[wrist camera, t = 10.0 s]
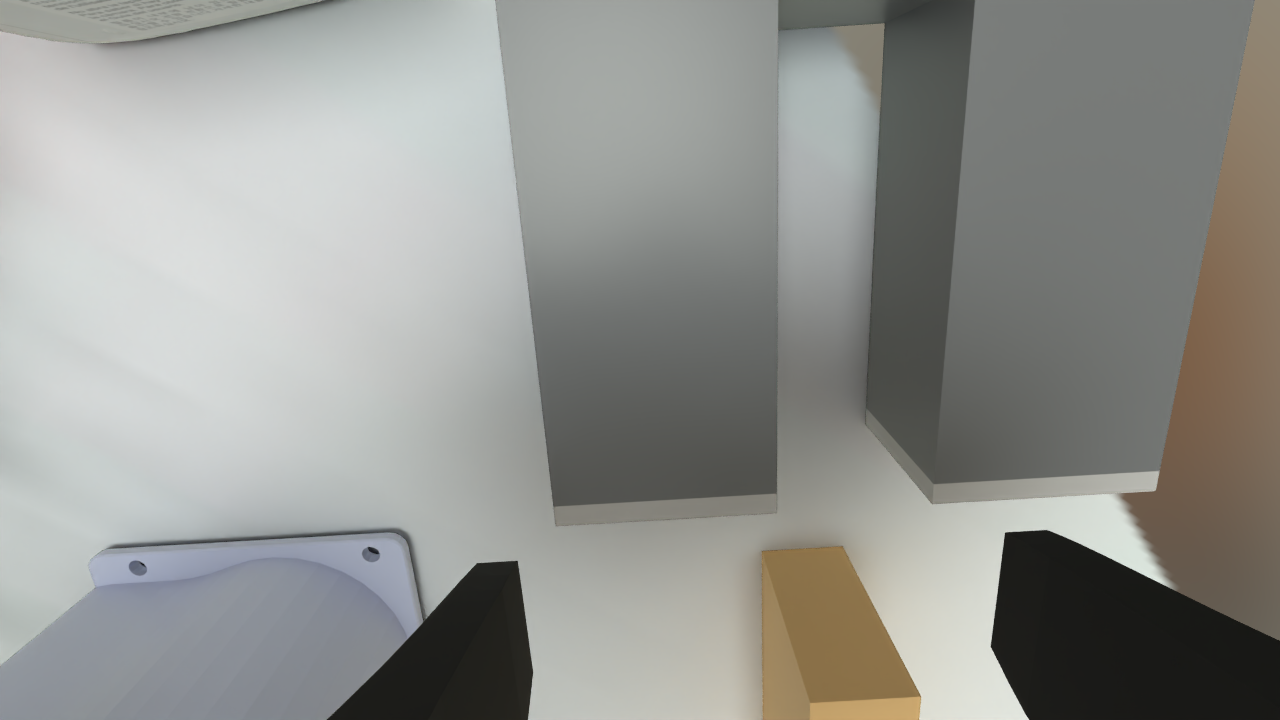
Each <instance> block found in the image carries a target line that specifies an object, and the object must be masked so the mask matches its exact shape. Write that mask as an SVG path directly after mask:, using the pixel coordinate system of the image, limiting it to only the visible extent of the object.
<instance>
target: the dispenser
mask: <svg viewBox="0 0 1280 720" xmlns="http://www.w3.org/2000/svg"><path fill="white" fill-rule="evenodd" d="M1254 1H1255V0H495V2H496V11H497V20H498V28H499V37H500V46H501V54H502V63H503V72H504V81H505V89H506V98H507V107H508V115H509V124H510V133H511V141H512V150H513V159H514V167H515V176H516V185H517V193H518V202H519V211H520V220H521V228H522V237H523V246H524V254H525V263H526V272H527V280H528V289H529V298H530V306H531V315H532V324H533V332H534V341H535V350H536V359H537V367H538V376H539V385H540V393H541V402H542V411H543V419H544V428H545V437H546V445H547V454H548V463H549V472H550V480H551V489H552V498H553V506H554V515H555V524H556V526H568V525H585V524H602V523H619V522H636V521H653V520H670V519H687V518H704V517H721V516H738V515H755V514H772V513H777V242H778V30H787V29H802V28H818V27H833V26H848V25H862V24H878V23H885V29H884V50H883V71H882V92H881V112H880V133H879V154H878V175H877V196H876V216H875V237H874V258H873V279H872V300H871V321H870V341H869V362H868V383H867V404H866V425H867V426H868V428H869V429H870V430H871V431H872V432H873V434H874V435H875V436H876V437H877V438H878V440H879V441H880V442H881V443H882V444H883V446H884V447H885V448H886V449H887V450H888V452H889V453H890V454H891V455H892V456H893V458H894V459H895V460H896V461H897V462H898V464H899V465H900V466H901V467H902V468H903V470H904V471H905V472H906V473H907V474H908V476H909V477H910V478H911V479H912V480H913V482H914V483H915V484H916V485H917V486H918V488H919V489H920V490H921V491H922V493H923V494H924V495H925V496H926V497H927V499H928V500H929V501H930V502H931V503H932V504H942V503H959V502H976V501H993V500H1010V499H1027V498H1045V497H1062V496H1079V495H1096V494H1113V493H1130V492H1146V491H1156V486H1157V481H1158V475H1159V470H1160V466H1161V461H1162V456H1163V451H1164V446H1165V441H1166V437H1167V431H1168V427H1169V422H1170V416H1171V411H1172V407H1173V402H1174V397H1175V392H1176V387H1177V381H1178V377H1179V372H1180V367H1181V362H1182V357H1183V352H1184V347H1185V342H1186V337H1187V333H1188V327H1189V323H1190V318H1191V313H1192V308H1193V303H1194V298H1195V293H1196V288H1197V283H1198V278H1199V273H1200V268H1201V263H1202V258H1203V253H1204V248H1205V243H1206V239H1207V233H1208V228H1209V224H1210V219H1211V214H1212V208H1213V204H1214V199H1215V194H1216V189H1217V184H1218V179H1219V174H1220V169H1221V164H1222V159H1223V154H1224V149H1225V145H1226V140H1227V135H1228V130H1229V125H1230V120H1231V115H1232V109H1233V105H1234V100H1235V95H1236V90H1237V85H1238V80H1239V75H1240V70H1241V65H1242V60H1243V55H1244V50H1245V46H1246V40H1247V36H1248V31H1249V26H1250V21H1251V15H1252V11H1253V6H1254Z"/></svg>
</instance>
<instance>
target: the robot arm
mask: <svg viewBox="0 0 1280 720" xmlns="http://www.w3.org/2000/svg"><path fill="white" fill-rule="evenodd" d="M367 547H374V548H375V549H377V550H378V551H379V553H380V554H373V553H371V552H370V551H369V550H368V548H367ZM139 561H140V562H142V563H144V564H145V566H146V567H144V566H142V565H141V564H140V563H139ZM89 571H90V573H91V576H92V579H93V581H94V584H95V587H96V588H94V589H93V590H92V591H91V592H90V593H88V594H87V595H86V596H85V597H83V598H82V599H81V600H80V601H79V602H77V603H76V604H75V605H74V606H73V607H71V608H70V609H69V610H68V611H66V612H65V613H64V614H63V615H62V616H60V617H59V618H58V619H57V620H56V621H54V622H53V623H52V624H51V625H49V626H48V627H47V628H46V629H45V630H43V631H42V632H41V633H40V634H39V635H37V636H36V637H35V638H34V639H32V640H31V641H30V642H29V643H28V644H26V645H25V646H24V647H23V648H22V649H20V650H19V651H18V652H17V653H15V654H14V655H13V656H12V657H11V658H9V659H8V660H7V661H6V662H5V663H3V664H2V665H1V666H0V720H528V714H529V705H530V696H531V687H532V677H533V668H532V661H531V654H530V647H529V639H528V632H527V625H526V618H525V611H524V603H523V596H522V589H521V582H520V574H519V567H518V561H508V562H491V563H477V564H476V565H475V566H474V567H473V568H472V569H471V570H470V571H469V572H468V573H467V574H466V576H465V577H464V578H463V579H462V580H461V581H460V582H459V583H458V584H457V585H456V586H455V588H454V589H453V590H452V591H451V592H450V593H449V594H448V595H447V596H446V598H445V599H444V600H443V601H442V602H441V603H440V604H439V605H438V606H437V608H436V609H435V610H434V611H433V612H432V613H431V614H430V615H429V616H428V617H427V619H426V620H425V621H424V622H423V619H422V614H421V608H420V603H419V598H418V593H417V588H416V583H415V578H414V573H413V568H412V563H411V557H410V552H409V547H408V544H407V542H406V540H405V539H404V538H403V537H402V536H400V535H398V534H396V533H389V532H388V533H371V534H354V535H337V536H320V537H303V538H286V539H269V540H252V541H235V542H218V543H201V544H184V545H167V546H150V547H133V548H116V549H106V550H102V551H101V552H100V553H98V554H97V555H96V556H94V557H93V558H92V559H91V560H90V562H89ZM991 648H992V650H993V652H994V654H995V656H996V658H997V660H998V662H999V664H1000V666H1001V668H1002V670H1003V672H1004V674H1005V676H1006V678H1007V680H1008V682H1009V684H1010V686H1011V688H1012V690H1013V692H1014V693H1015V695H1016V697H1017V699H1018V701H1019V703H1020V705H1021V706H1022V708H1023V710H1024V712H1025V714H1026V715H1027V717H1028V718H1029V720H1280V641H1279V640H1276V639H1275V638H1272V637H1270V636H1268V635H1266V634H1264V633H1262V632H1260V631H1257V630H1255V629H1253V628H1251V627H1249V626H1247V625H1245V624H1243V623H1240V622H1238V621H1236V620H1234V619H1232V618H1230V617H1228V616H1226V615H1224V614H1222V613H1219V612H1217V611H1215V610H1213V609H1211V608H1209V607H1207V606H1205V605H1203V604H1201V603H1199V602H1197V601H1195V600H1193V599H1191V598H1188V597H1187V596H1185V595H1182V594H1180V593H1178V592H1176V591H1174V590H1172V589H1170V588H1168V587H1166V586H1164V585H1162V584H1160V583H1158V582H1156V581H1154V580H1152V579H1150V578H1148V577H1146V576H1144V575H1142V574H1140V573H1138V572H1136V571H1134V570H1132V569H1130V568H1128V567H1126V566H1124V565H1122V564H1120V563H1118V562H1116V561H1114V560H1112V559H1110V558H1108V557H1106V556H1104V555H1102V554H1100V553H1098V552H1095V551H1093V550H1091V549H1089V548H1087V547H1085V546H1083V545H1081V544H1079V543H1076V542H1074V541H1072V540H1070V539H1067V538H1065V537H1063V536H1060V535H1058V534H1055V533H1053V532H1051V531H1048V530H1040V531H1023V532H1006V533H1005V538H1004V546H1003V554H1002V562H1001V570H1000V578H999V586H998V594H997V602H996V610H995V618H994V625H993V633H992V641H991Z"/></svg>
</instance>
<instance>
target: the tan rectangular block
mask: <svg viewBox="0 0 1280 720" xmlns="http://www.w3.org/2000/svg"><path fill="white" fill-rule="evenodd" d="M762 682H763V720H919V715H920V704H921V696H920V694H919V692H918V690H917V688H916V686H915V684H914V682H913V680H912V678H911V676H910V674H909V673H908V671H907V669H906V667H905V665H904V663H903V661H902V659H901V657H900V655H899V653H898V652H897V650H896V648H895V646H894V644H893V642H892V640H891V638H890V636H889V634H888V632H887V630H886V629H885V627H884V625H883V623H882V621H881V619H880V617H879V615H878V613H877V611H876V609H875V608H874V606H873V604H872V602H871V600H870V598H869V596H868V594H867V592H866V590H865V588H864V586H863V585H862V583H861V581H860V579H859V577H858V575H857V573H856V571H855V569H854V567H853V565H852V564H851V562H850V560H849V558H848V556H847V554H846V552H845V550H844V548H843V546H841V547H823V548H806V549H789V550H772V551H762Z"/></svg>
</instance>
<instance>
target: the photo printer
mask: <svg viewBox="0 0 1280 720" xmlns="http://www.w3.org/2000/svg"><path fill="white" fill-rule="evenodd" d="M320 1H324V0H0V31H3V32H8V33H13V34H18V35H23V36H28V37H34V38H40V39H45V40H50V41H58V42H70V43H113V42H125V41H136V40H142V39H148V38H155V37H159V36H164V35H171V34H175V33H184V32H187V31H190V30H194V29H199V28H204V27H210V26H214V25H219V24H224V23H228V22H233V21H237V20H242V19H246V18H251V17H256V16H260V15H265V14H269V13H273V12H278V11H282V10H286V9H290V8H294V7H298V6H303V5H307V4H312V3H317V2H320Z"/></svg>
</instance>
